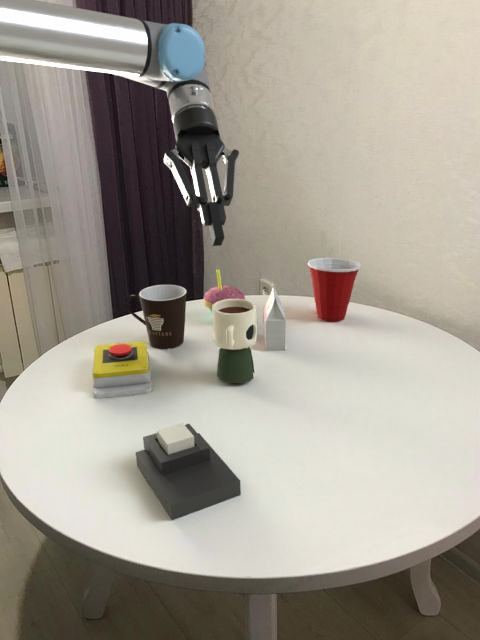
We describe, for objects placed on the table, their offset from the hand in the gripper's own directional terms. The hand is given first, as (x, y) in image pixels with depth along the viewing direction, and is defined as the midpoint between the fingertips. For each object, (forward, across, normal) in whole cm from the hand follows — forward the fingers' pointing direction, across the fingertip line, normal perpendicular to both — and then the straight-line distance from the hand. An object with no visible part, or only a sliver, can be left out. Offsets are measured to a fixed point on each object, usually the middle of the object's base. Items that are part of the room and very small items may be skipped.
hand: (218, 241), depth 95 cm
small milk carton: (+12, +12, +18) cm, 25 cm away
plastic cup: (+6, +28, +24) cm, 37 cm away
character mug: (+20, +1, +10) cm, 23 cm away
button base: (+37, -12, -7) cm, 40 cm away
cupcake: (+3, +6, +29) cm, 30 cm away
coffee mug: (+7, -8, +25) cm, 27 cm away
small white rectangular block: (+32, -13, -7) cm, 36 cm away
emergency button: (+16, -16, +16) cm, 28 cm away
